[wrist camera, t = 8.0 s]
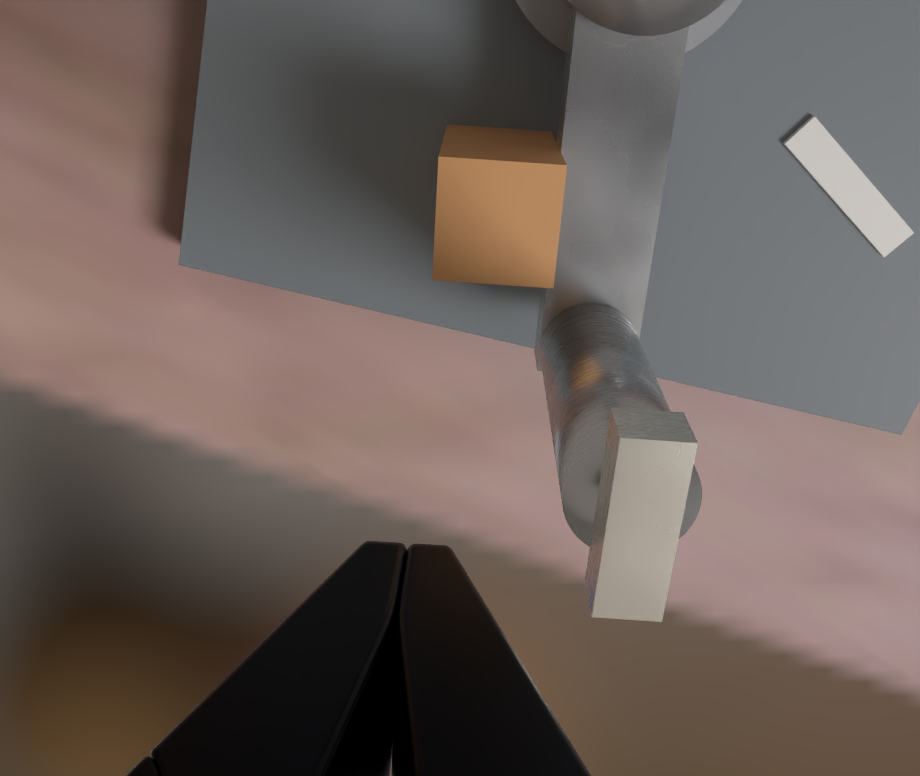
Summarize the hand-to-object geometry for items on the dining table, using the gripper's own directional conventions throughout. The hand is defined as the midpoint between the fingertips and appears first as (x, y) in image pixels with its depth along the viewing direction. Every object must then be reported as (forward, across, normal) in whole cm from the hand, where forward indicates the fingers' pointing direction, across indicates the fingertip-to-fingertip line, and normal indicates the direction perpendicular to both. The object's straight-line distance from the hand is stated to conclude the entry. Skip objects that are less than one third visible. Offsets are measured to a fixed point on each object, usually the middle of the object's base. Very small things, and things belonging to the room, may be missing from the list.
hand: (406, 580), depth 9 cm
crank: (+9, -3, -3) cm, 10 cm away
